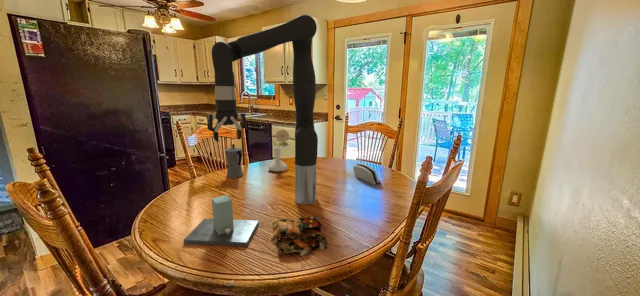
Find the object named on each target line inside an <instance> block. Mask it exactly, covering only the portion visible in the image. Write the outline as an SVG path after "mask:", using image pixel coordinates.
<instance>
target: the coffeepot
mask: <svg viewBox="0 0 640 296" xmlns="http://www.w3.org/2000/svg"><path fill="white" fill-rule="evenodd" d="M235 146H236V145H235V143H234V144H231V147H227V148H225V149H224V152H225V156H226V162H227V169H226V177H227V178H229V179H237V178H241V177H244V174H243V173H244V172H243V168H242V159H243V158H242V157H243V153H242V152H243V149H242V148H241V147H235Z"/></svg>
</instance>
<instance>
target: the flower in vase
mask: <svg viewBox="0 0 640 296" xmlns="http://www.w3.org/2000/svg"><path fill="white" fill-rule="evenodd" d="M274 137H275V139H276V141H278V142H280V144H278V143H275V142H273V144H274V145H276V146H274V147H273V150H274V152H275V160H274V161H273V162H271V163H270V164H269V166H268V170H269V171H271V172H283V171H286V170H287V169H288V166H287V164H286V163H284V162H283V161H282V160H281V158H280V154H281V150H282V147H281V145H282V146H283V147H287V146H289V144H288V143H287V141H289V138H290V133H289V132H288V131H287V130H285V129H279V130H278V131H276V132H275V136H274Z"/></svg>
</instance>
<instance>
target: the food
mask: <svg viewBox="0 0 640 296" xmlns="http://www.w3.org/2000/svg"><path fill="white" fill-rule="evenodd" d="M297 224H298V225H296V221H295V220H294V219H293V220H288V219H286V218H280V219H278V220H276V221H274V222H272V228H273V238H272V239H270V240H271V242H272V243H273V244H277V249H278V252H279V253H283V254H284V253H295V252H296V253H299V255H300V256H310V255H313V254H314V251H318V249H320V250H322V251H324V250H326V249H327V248H329V247H328V246H327V245H328V240H326V237H325V236H323V235H322V234H320V233H323V231H322V229H321V227H322V223H321V221H320V218H319V216H317V215H313V216H310V217H300V216H299V217H297ZM297 227H298V228H297ZM307 228H308V229H313V228H318V230H320V231H319V233H312V232H310V233H305V232H303V230H304V229H307ZM298 230H299V232H298Z"/></svg>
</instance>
